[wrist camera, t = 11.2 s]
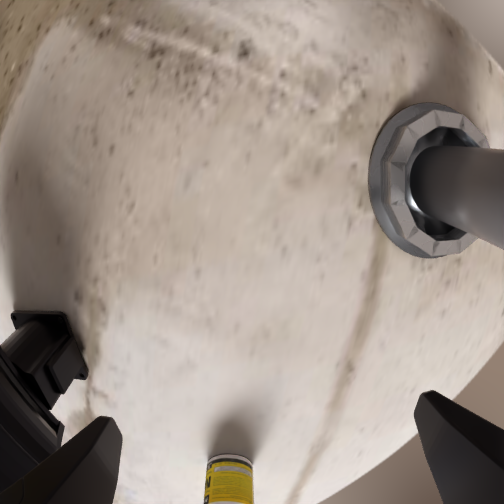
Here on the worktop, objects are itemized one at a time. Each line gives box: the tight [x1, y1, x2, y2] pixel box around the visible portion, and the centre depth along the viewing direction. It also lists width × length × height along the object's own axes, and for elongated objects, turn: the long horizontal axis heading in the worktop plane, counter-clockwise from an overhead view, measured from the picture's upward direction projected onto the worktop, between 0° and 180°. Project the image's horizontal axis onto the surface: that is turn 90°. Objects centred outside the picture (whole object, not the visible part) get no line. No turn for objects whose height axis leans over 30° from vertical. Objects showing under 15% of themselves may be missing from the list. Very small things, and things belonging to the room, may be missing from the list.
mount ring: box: [368, 103, 490, 258], centre depth 17 cm, size 11×11×2 cm
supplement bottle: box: [204, 454, 254, 504], centre depth 23 cm, size 5×5×8 cm
